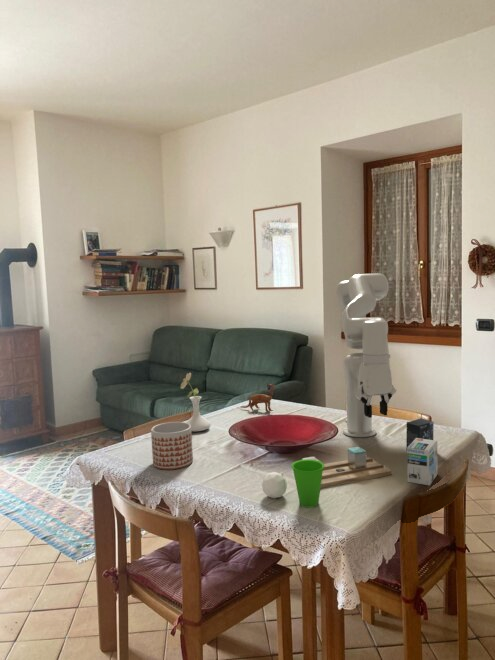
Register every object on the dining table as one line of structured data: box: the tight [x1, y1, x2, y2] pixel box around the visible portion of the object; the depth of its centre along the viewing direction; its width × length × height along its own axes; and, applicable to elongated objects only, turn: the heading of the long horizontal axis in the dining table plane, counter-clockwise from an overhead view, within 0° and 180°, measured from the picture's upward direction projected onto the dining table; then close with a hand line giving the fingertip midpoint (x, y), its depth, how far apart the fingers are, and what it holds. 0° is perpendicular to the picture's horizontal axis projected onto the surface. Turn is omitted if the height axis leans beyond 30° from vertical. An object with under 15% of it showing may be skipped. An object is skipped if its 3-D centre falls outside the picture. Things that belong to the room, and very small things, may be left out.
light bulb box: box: [406, 438, 438, 486], centre depth 159 cm, size 11×7×11 cm, turn 148°
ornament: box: [261, 471, 288, 499], centre depth 150 cm, size 7×7×8 cm
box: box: [405, 417, 434, 452], centre depth 182 cm, size 8×6×11 cm
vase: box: [150, 421, 194, 471], centre depth 181 cm, size 14×14×13 cm
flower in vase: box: [179, 372, 212, 432], centre depth 217 cm, size 13×11×25 cm
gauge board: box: [301, 456, 392, 489], centre depth 165 cm, size 14×26×6 cm, turn 109°
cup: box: [291, 459, 325, 508], centre depth 144 cm, size 9×9×11 cm
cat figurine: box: [240, 383, 275, 414], centre depth 245 cm, size 18×7×14 cm, turn 65°
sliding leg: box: [347, 446, 367, 469], centre depth 166 cm, size 5×4×6 cm
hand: (375, 414), depth 167 cm, fingers open, 4 cm apart
